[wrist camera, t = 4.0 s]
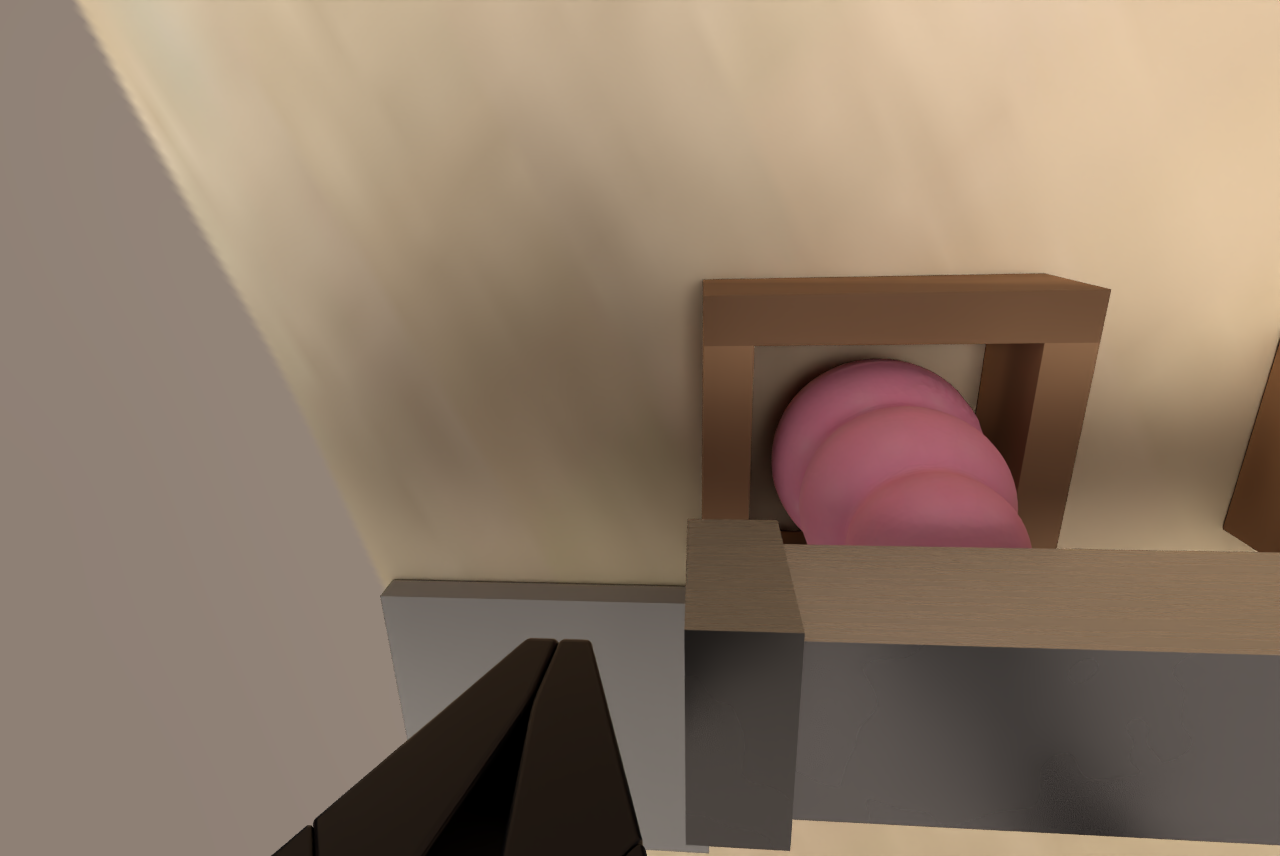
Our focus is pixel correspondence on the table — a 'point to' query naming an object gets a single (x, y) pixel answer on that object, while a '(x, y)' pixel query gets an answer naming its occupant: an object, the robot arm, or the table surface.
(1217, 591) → the latch bolt
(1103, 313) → the toy holder
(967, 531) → the dog chew toy
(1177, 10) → the table surface
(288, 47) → the table surface
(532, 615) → the slate mat
